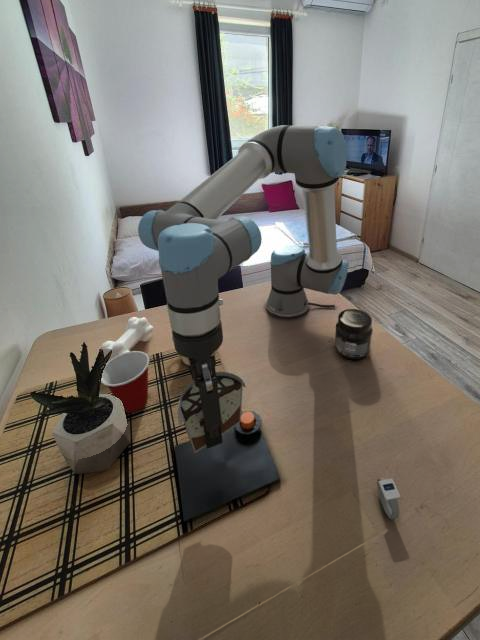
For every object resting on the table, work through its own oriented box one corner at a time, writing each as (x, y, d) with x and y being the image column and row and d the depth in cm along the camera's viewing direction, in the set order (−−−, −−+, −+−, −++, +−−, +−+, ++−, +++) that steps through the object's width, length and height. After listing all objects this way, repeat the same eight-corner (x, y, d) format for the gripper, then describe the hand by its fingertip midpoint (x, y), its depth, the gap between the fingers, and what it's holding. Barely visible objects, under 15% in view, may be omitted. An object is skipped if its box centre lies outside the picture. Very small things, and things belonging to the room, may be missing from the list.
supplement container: (358, 337, 104) (361, 305, 99) (376, 358, 94) (381, 324, 90) (328, 343, 100) (330, 311, 96) (344, 366, 91) (347, 332, 87)
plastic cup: (110, 394, 82) (99, 357, 77) (156, 381, 86) (148, 345, 81) (107, 429, 73) (95, 389, 68) (158, 413, 77) (150, 374, 72)
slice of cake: (229, 397, 66) (226, 359, 62) (247, 417, 62) (245, 378, 58) (171, 433, 59) (163, 393, 55) (186, 459, 55) (179, 417, 50)
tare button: (252, 415, 73) (251, 409, 73) (256, 426, 71) (256, 420, 70) (239, 420, 72) (238, 414, 72) (243, 431, 70) (242, 425, 69)
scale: (256, 416, 76) (256, 407, 75) (282, 481, 63) (282, 471, 62) (174, 446, 70) (172, 436, 68) (184, 525, 56) (182, 514, 55)
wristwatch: (401, 523, 56) (405, 506, 54) (386, 526, 56) (390, 509, 54) (385, 486, 62) (389, 469, 60) (372, 489, 62) (375, 472, 60)
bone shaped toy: (128, 371, 89) (122, 348, 86) (100, 368, 91) (93, 344, 88) (157, 338, 103) (153, 316, 100) (132, 335, 104) (127, 313, 101)
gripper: (236, 355, 44) (245, 467, 53) (209, 290, 60) (219, 385, 69) (178, 371, 41) (198, 486, 50) (166, 299, 57) (182, 396, 66)
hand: (210, 428), depth 60 cm, fingers closed on slice of cake, 6 cm apart
